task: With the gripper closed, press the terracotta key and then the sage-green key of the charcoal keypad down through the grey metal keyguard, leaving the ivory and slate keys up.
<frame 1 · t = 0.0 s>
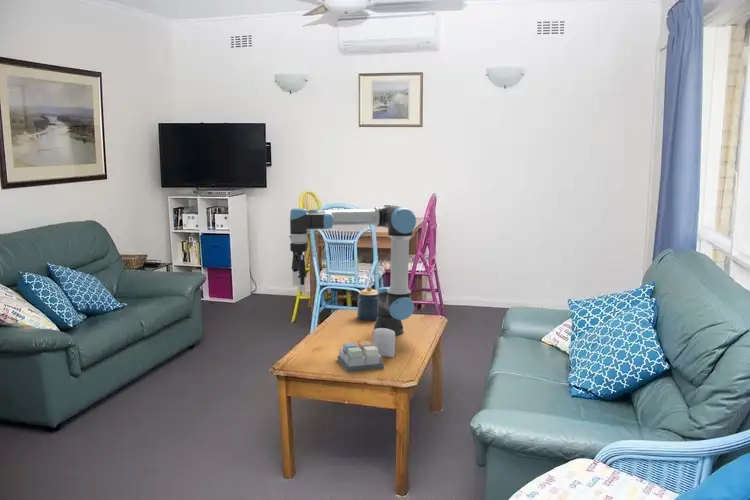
hand: (298, 288, 285), 28 cm above the table, fingers open, 13 cm apart
key slate: (350, 348, 268), point 6 cm above the table, slide at 0.0 cm
key sage: (354, 353, 261), point 6 cm above the table, slide at 0.0 cm
key terracotta: (365, 347, 270), point 6 cm above the table, slide at 0.0 cm
key ivory: (370, 351, 264), point 6 cm above the table, slide at 0.0 cm
canister: (368, 318, 344), on the table
keypad base: (360, 364, 267), on the table
photo printer: (383, 355, 280), on the table
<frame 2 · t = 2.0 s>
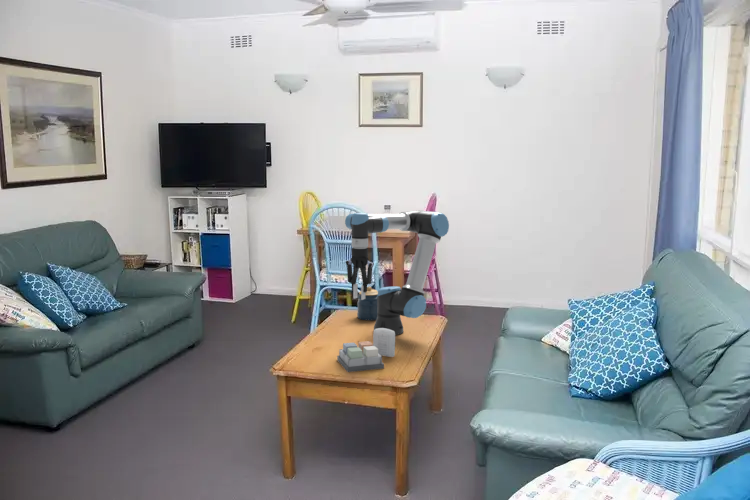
hand: (359, 298, 282), 25 cm above the table, fingers open, 3 cm apart
nothing on the table moved.
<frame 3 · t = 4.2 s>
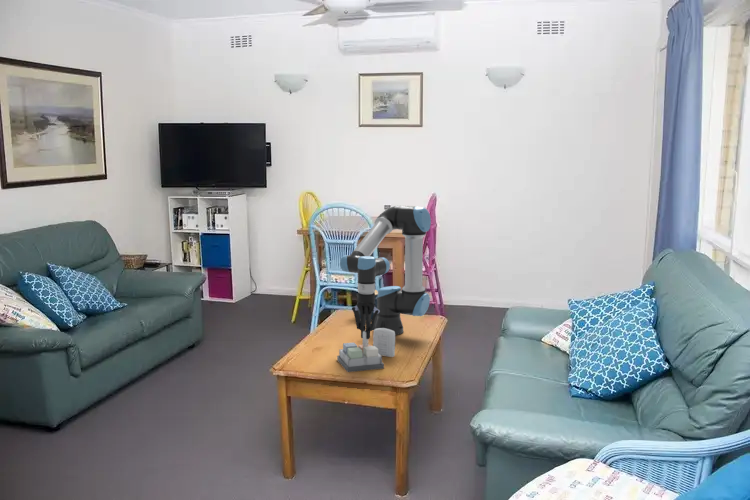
hand: (365, 345, 270), 7 cm above the table, fingers closed
key terracotta: (365, 349, 270), point 5 cm above the table, slide at 1.3 cm, touching gripper
everything else where it was.
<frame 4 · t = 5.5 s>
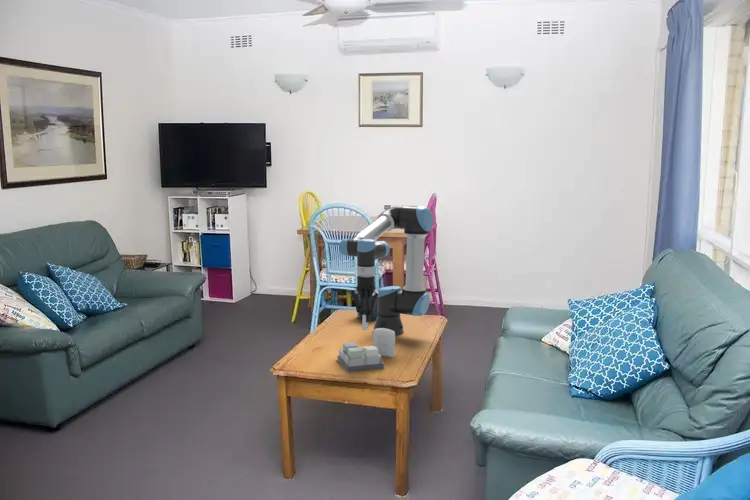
hand: (365, 329, 269), 14 cm above the table, fingers closed
key terracotta: (365, 351, 271), point 4 cm above the table, slide at 2.0 cm
everything else where it was.
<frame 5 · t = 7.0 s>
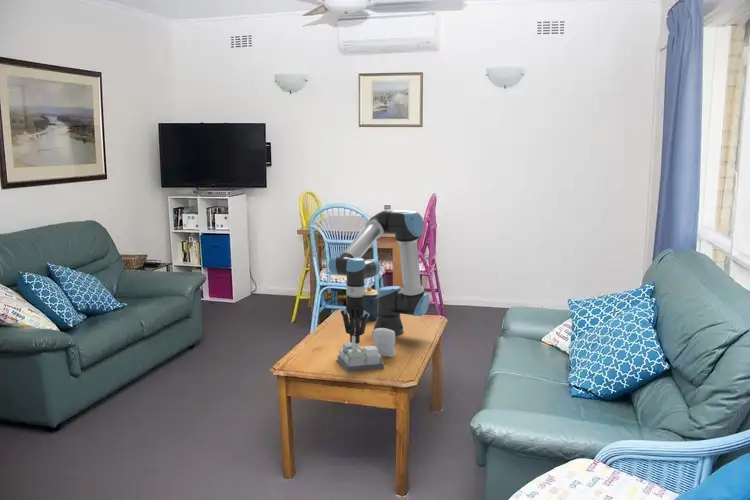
hand: (354, 350, 261), 8 cm above the table, fingers closed
key sage: (354, 354, 262), point 6 cm above the table, slide at 0.6 cm, touching gripper
everything else where it was.
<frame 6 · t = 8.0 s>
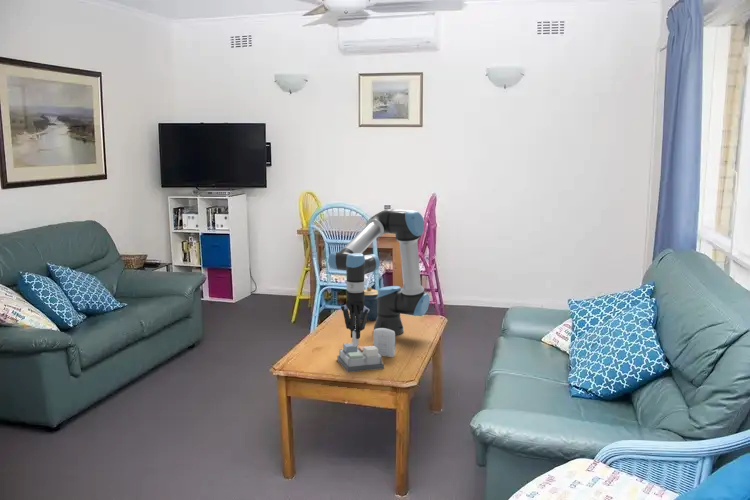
hand: (355, 345, 261), 10 cm above the table, fingers closed
key sage: (354, 357, 262), point 4 cm above the table, slide at 2.0 cm
everything else where it was.
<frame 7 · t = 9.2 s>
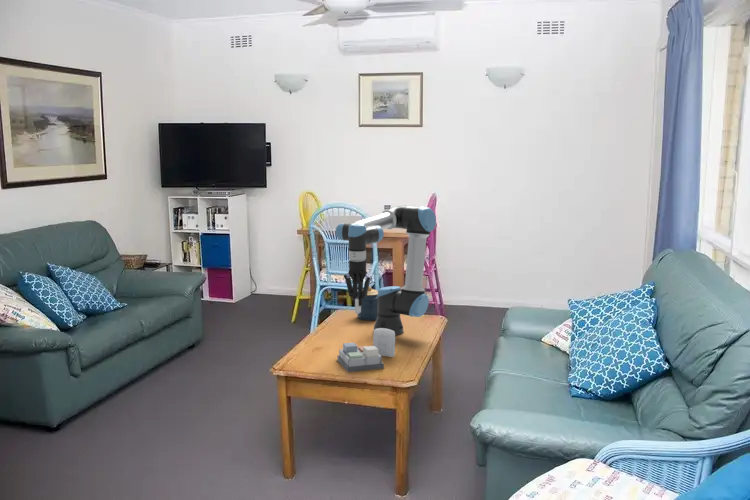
hand: (358, 312, 272), 21 cm above the table, fingers closed
nothing on the table moved.
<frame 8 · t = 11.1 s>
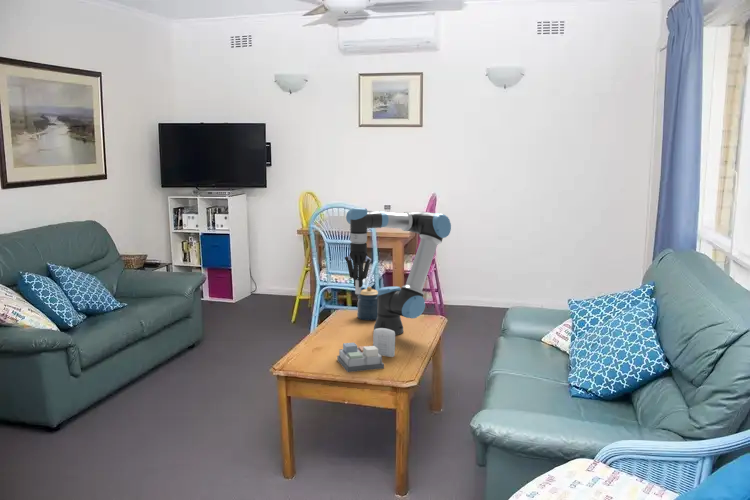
hand: (358, 293, 283), 26 cm above the table, fingers closed
nothing on the table moved.
at the end: key terracotta slide at 2.0 cm; key sage slide at 2.0 cm; key ivory slide at 0.0 cm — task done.
